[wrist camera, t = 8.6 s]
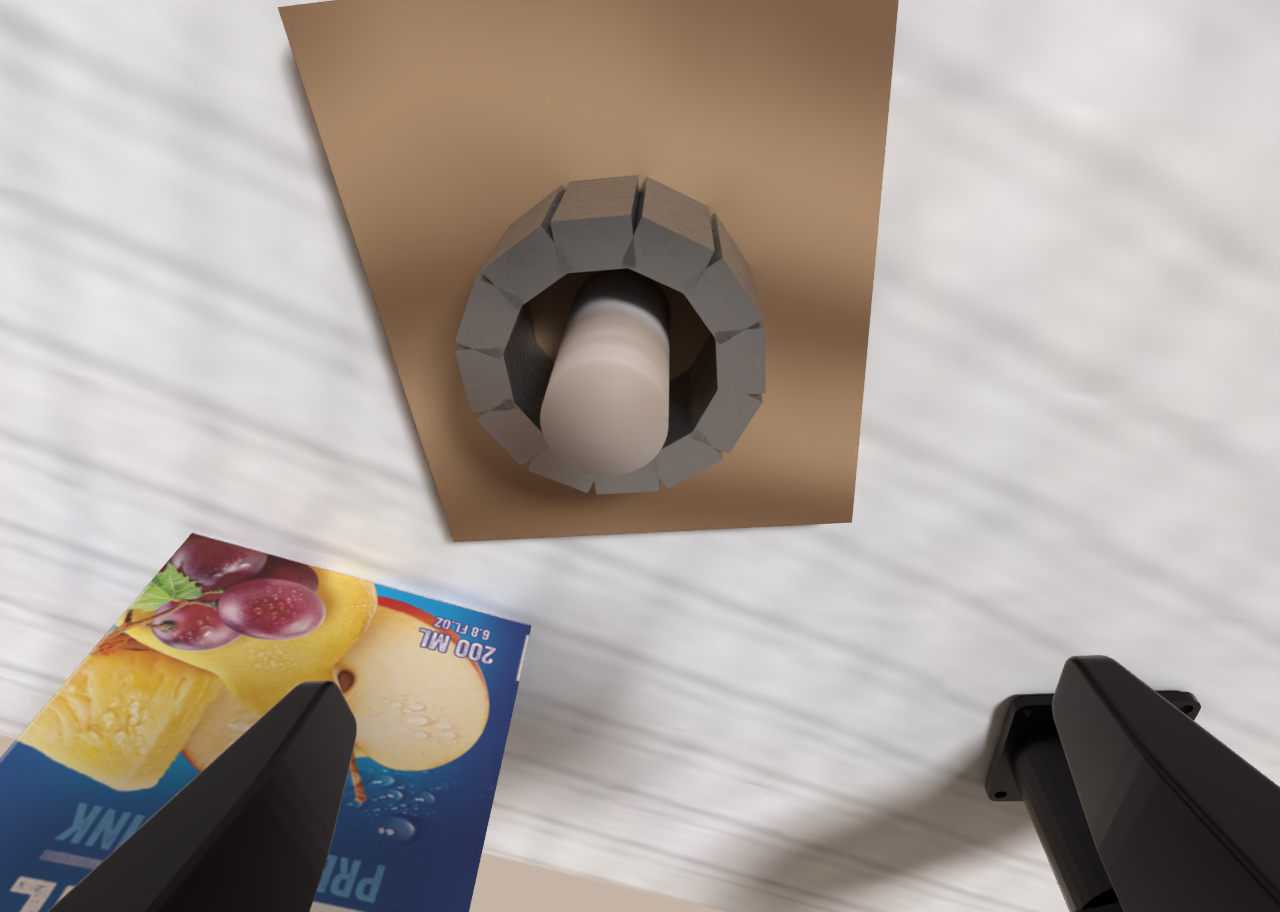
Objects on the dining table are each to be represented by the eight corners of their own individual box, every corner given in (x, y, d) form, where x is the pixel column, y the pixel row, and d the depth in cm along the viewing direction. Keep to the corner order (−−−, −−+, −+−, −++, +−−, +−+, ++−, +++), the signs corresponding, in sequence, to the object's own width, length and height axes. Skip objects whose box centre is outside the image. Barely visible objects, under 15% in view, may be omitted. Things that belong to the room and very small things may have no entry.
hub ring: (753, 417, 19) (765, 485, 16) (518, 431, 19) (495, 499, 17) (751, 164, 15) (765, 202, 13) (462, 191, 16) (422, 233, 13)
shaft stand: (843, 497, 22) (894, 659, 17) (464, 517, 23) (402, 675, 18) (888, -68, 14) (1012, -87, 9) (304, 4, 15) (111, 24, 10)
